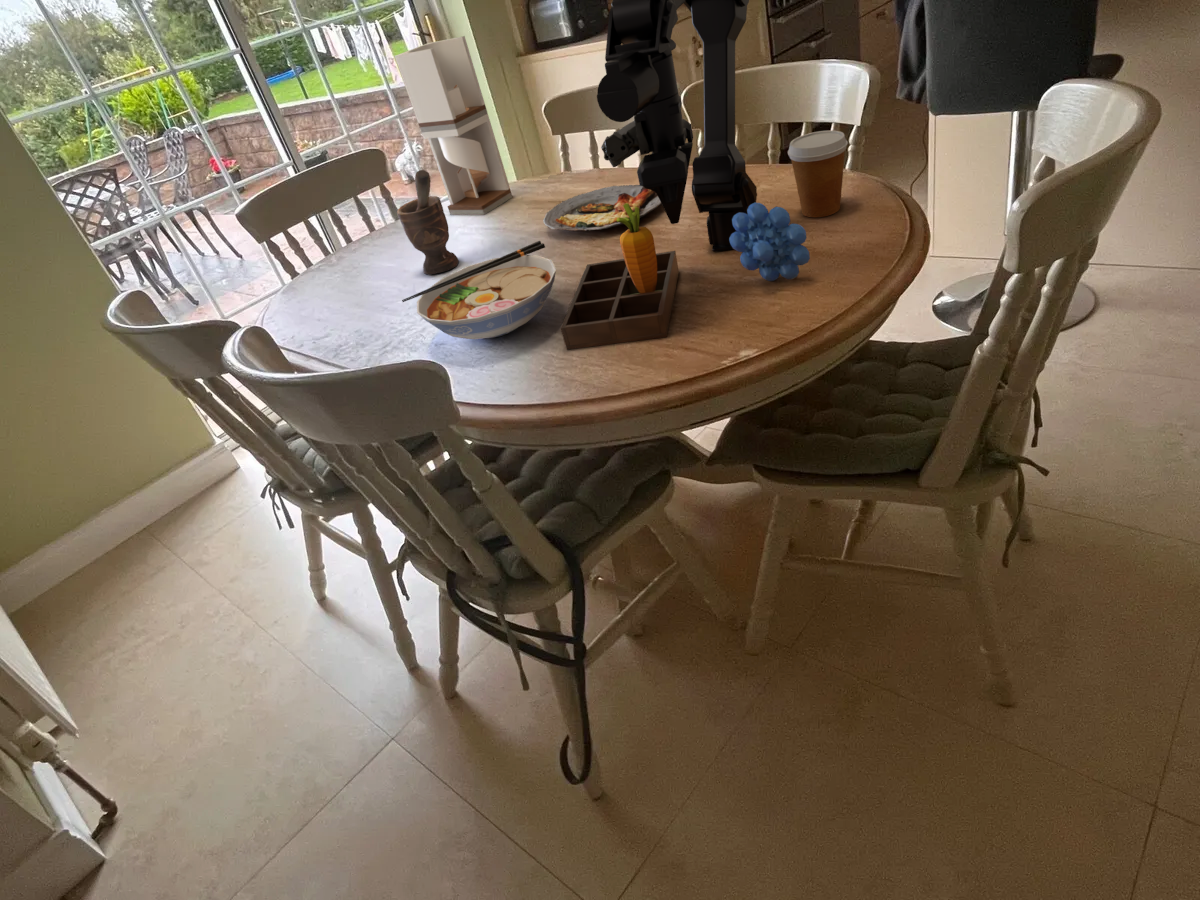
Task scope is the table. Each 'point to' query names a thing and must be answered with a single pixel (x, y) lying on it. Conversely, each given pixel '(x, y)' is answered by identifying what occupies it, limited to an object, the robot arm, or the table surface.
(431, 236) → the mortar and pestle
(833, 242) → the table surface
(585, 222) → the food plate
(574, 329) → the wooden compartment organizer
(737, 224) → the grapes
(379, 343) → the table surface
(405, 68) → the white wooden shelf
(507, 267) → the ramen bowl
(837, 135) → the disposable coffee cup
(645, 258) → the carrot
